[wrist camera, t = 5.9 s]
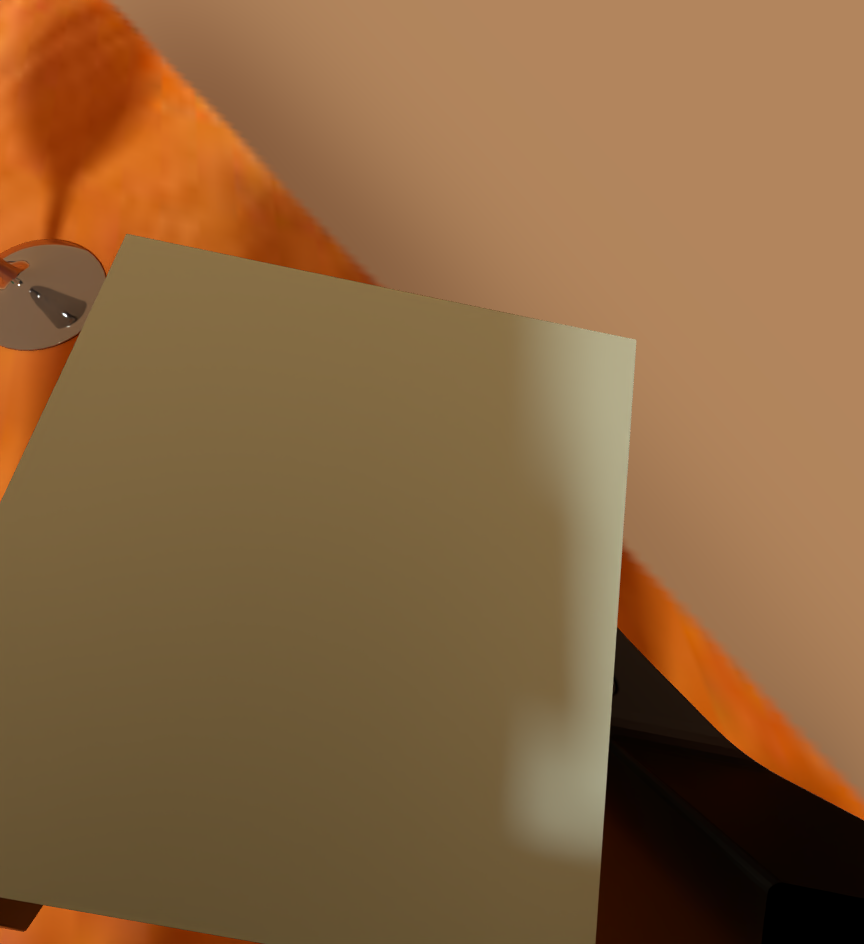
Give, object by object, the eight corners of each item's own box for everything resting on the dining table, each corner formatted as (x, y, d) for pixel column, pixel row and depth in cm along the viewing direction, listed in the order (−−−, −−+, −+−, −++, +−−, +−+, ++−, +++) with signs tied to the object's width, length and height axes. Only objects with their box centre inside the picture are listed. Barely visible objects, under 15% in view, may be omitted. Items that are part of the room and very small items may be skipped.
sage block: (440, 617, 14) (590, 1000, 2) (322, 594, 14) (-170, 868, 2) (460, 501, 16) (635, 339, 3) (351, 479, 15) (126, 233, 3)
